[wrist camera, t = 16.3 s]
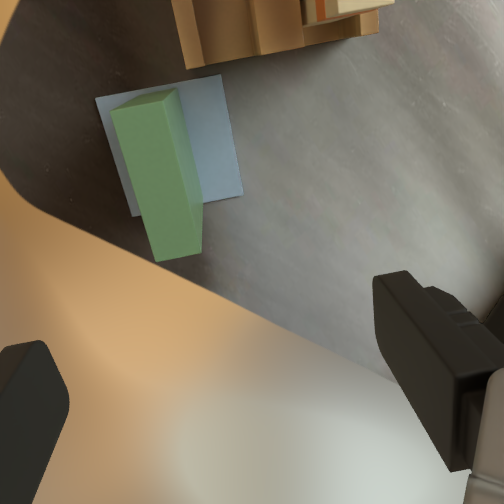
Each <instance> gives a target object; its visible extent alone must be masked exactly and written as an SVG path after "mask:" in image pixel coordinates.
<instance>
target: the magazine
mask: <svg viewBox="0 0 504 504" xmlns="http://www.w3.org/2000/svg"><path fill="white" fill-rule="evenodd" d="M483 325H484V326H485V327H486V328H487V329H488V330H489V331H490V332H491V333H492V334H493V335H494V336H495V337H496V338H497V339H498V340H499V341H500V342H501V343H502V344H504V295H503V296H502V297H501V299H500V300H499V301H498V303H497V304H496V306H495V307H494V309H493V310H492V312H491V313H490V314H489V316H488V317H487V319H486V320H485V322H484V323H483Z"/></svg>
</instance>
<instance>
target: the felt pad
mask: <svg viewBox="0 0 504 504" xmlns="http://www.w3.org/2000/svg"><path fill="white" fill-rule="evenodd" d="M176 87H177V88H178V92H179V97H180V101H181V105H182V109H183V114H184V118H185V122H186V126H187V131H188V135H189V139H190V143H191V148H192V152H193V156H194V160H195V165H196V169H197V173H198V177H199V182H200V186H201V190H202V194H203V203H206V202H211V201H216V200H221V199H226V198H231V197H236V196H241V195H244V194H243V188H242V183H241V178H240V173H239V167H238V162H237V157H236V151H235V146H234V141H233V135H232V130H231V125H230V120H229V114H228V109H227V104H226V98H225V93H224V88H223V83H222V77H221V74H218V75H213V76H208V77H202V78H197V79H192V80H187V81H182V82H176V83H171V84H166V85H161V86H156V87H150V88H145V89H140V90H135V91H130V92H124V93H119V94H114V95H109V96H104V97H98V98H95V100H96V103H97V107H98V110H99V113H100V116H101V119H102V122H103V126H104V129H105V132H106V135H107V138H108V141H109V145H110V148H111V151H112V154H113V157H114V160H115V164H116V167H117V170H118V173H119V176H120V179H121V183H122V186H123V189H124V192H125V195H126V198H127V202H128V205H129V208H130V211H131V214H132V217H134V216H140V215H141V213H140V209H139V206H138V203H137V200H136V196H135V193H134V190H133V187H132V184H131V180H130V177H129V174H128V171H127V167H126V164H125V161H124V158H123V154H122V151H121V148H120V145H119V141H118V138H117V135H116V132H115V128H114V125H113V122H112V119H111V115H110V112H109V111H111V110H112V109H114V108H116V107H118V106H120V105H122V104H124V103H126V102H128V101H129V100H131V99H133V98H135V97H137V96H139V95H141V94H145V93H150V92H156V91H161V90H166V89H171V88H176Z"/></svg>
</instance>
